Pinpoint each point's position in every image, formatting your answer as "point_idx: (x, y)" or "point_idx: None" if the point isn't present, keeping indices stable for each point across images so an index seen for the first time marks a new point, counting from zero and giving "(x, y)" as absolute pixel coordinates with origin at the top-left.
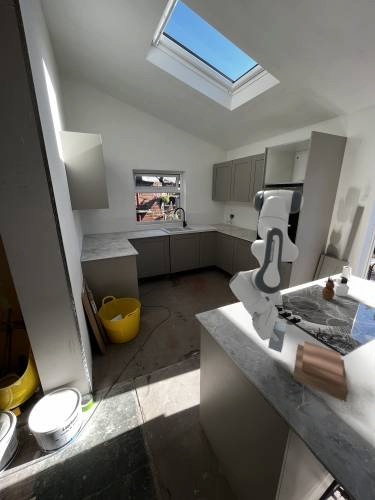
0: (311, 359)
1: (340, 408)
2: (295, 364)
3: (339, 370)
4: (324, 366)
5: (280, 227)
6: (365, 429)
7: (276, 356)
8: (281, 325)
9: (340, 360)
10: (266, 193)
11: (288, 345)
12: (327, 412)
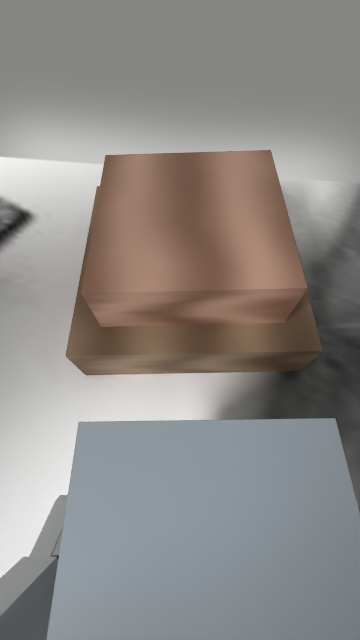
0: (257, 250)
1: (305, 228)
2: (270, 351)
3: (243, 158)
4: (265, 201)
5: None
6: (326, 187)
7: None
8: (144, 530)
9: (165, 155)
10: None
11: (49, 424)
12: (355, 256)
